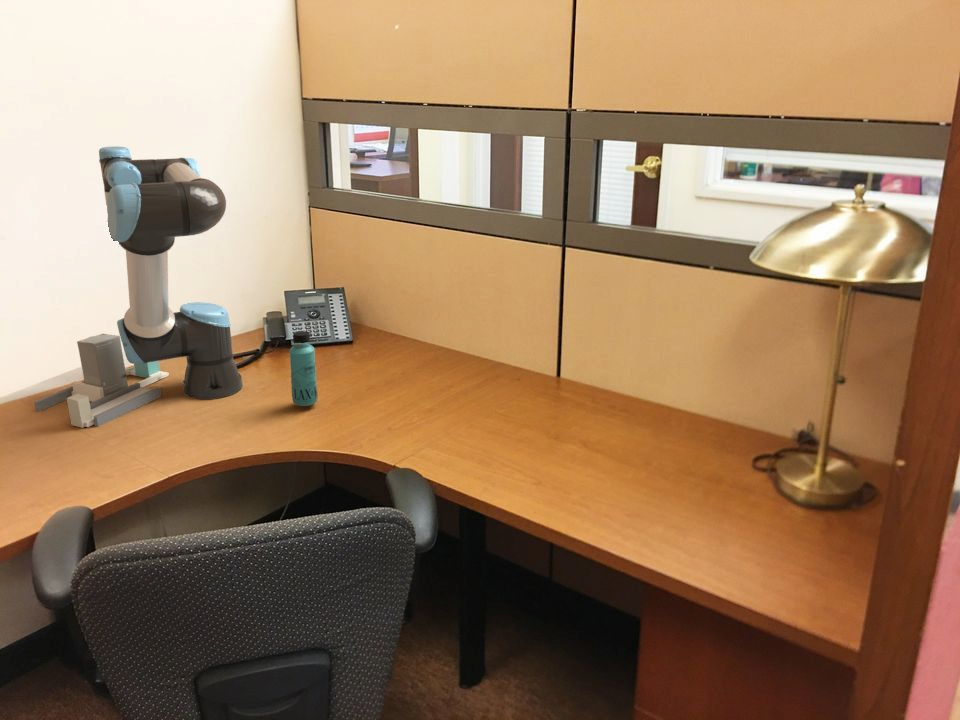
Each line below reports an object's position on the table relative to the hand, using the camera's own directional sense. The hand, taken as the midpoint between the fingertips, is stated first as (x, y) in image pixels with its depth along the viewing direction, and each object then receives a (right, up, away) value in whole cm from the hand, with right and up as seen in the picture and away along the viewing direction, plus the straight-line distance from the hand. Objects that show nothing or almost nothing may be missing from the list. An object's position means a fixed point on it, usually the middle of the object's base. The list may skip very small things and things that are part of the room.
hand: (133, 283), depth 211 cm
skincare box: (-1, -31, -12) cm, 33 cm away
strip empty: (+5, -34, -21) cm, 40 cm away
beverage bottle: (+52, -34, -16) cm, 64 cm away
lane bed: (-1, -33, -17) cm, 37 cm away
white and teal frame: (0, -28, -7) cm, 29 cm away
